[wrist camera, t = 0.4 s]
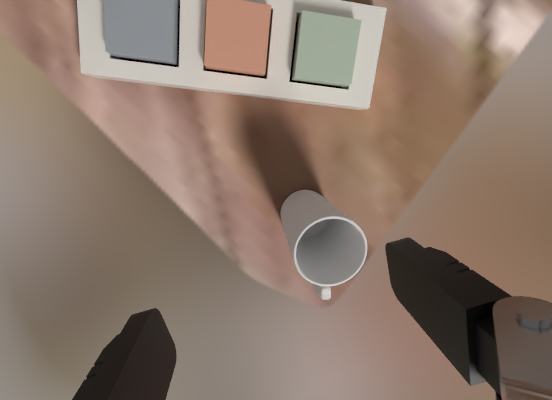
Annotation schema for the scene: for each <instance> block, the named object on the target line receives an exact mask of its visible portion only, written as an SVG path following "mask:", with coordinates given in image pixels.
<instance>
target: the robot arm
mask: <svg viewBox="0 0 552 400" xmlns="http://www.w3.org/2000/svg"><path fill="white" fill-rule="evenodd" d="M386 256H387V262H388V269H389V275H390V282H391V286H392V288H393V291H394V293H395V295H396V297H397V299H398V300H399V301H400V303H401V304H402V305H403V306H404V307H405V309H406V310H407V311H408V312H409V313H410V314H411V316H412V317H413V318H414V319H415V321H416V322H417V323H418V324H419V325H420V326H421V328H422V329H423V330H424V331H425V332H426V334H427V335H428V336H429V337H430V338H431V340H432V341H433V342H434V343H435V344H436V346H437V347H438V348H439V349H440V350H441V351H442V353H443V354H444V355H445V356H446V357H447V359H448V360H449V361H450V362H451V363H452V365H453V366H454V367H455V368H456V369H457V370H458V372H459V373H460V374H461V375H462V376H463V378H464V379H465V380H466V381H467V382H468V384H469V385H470V386H472V385H476V384H479V383H483V382H486V381H487V382H488V383H489V384H490V386H492V388H493V389H494V390H495V400H552V303H550V302H548V301H545V300H541V299H537V298H532V297H523V296H514V297H512V296H511V295H509V294H508V293H506V292H505V291H503V290H502V289H500V288H499V287H497V286H495V285H494V284H493V283H491V282H489V281H488V280H486V279H485V278H484V277H482V276H481V275H479V274H478V273H476V272H475V271H473V270H470V269H469V267H467V266H466V265H464V264H463V263H459V261H458V260H457V259H455V258H453V257H452V256H451V255H449V254H448V253H446V252H443V251H440V250H437V249H434V248H431V247H427V248H423V247H422V246H421V245H419V244H418V243H417V242H415V241H414V240H412V239H411V238H404V239H400V240H397V241H393V242H390V243H387V244H386ZM175 364H176V348H175V344H174V342H173V340H172V337H171V335H170V333H169V331H168V329H167V327H166V324H165V322H164V320H163V317H162V315H161V313H160V311H159V310H158V309H156V308H154V309H150V310H147V311H143V312H140V313H136V314H133V315H131V316H130V318H129V319H128V321H127V323H126V324H125V326H124V328H123V330H122V332H121V333H120V334H119V335H117V336H116V337H115V338H114V339H113V340H112V341H111V342H110V343H109V344H108V345H107V346H106V347H105V348H104V349H103V351H102V352H101V354H100V356H99V357H98V359H97V360H96V362H95V364H94V365H95V366H94V367H92V369H91V370H90V372H89V373H88V375H87V379H86V380H84V381H83V383H82V385H81V386H80V388H79V389H78V391H77V393H76V394H75V396H74V398H73V399H72V400H165V399H166V396H167V392H168V389H169V385H170V382H171V378H172V375H173V371H174V368H175Z"/></svg>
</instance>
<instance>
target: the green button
mask: <svg viewBox="0 0 552 400" xmlns="http://www.w3.org/2000/svg"><path fill="white" fill-rule="evenodd" d="M360 27H361V20H359V19H353V18H346V17H340V16H334V15H328V14H322V13H316V12H310V11H304V10H302V12H301V14H300V16H299V18H298V27H297V36H296V45H295V55H294V64H293V73H292V80H296V81H303V82H311V83H318V84H326V85H333V86H341V87H346V86H349V85H351V84H352V77H353V71H354V65H355V58H356V52H357V46H358V39H359V33H360Z"/></svg>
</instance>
